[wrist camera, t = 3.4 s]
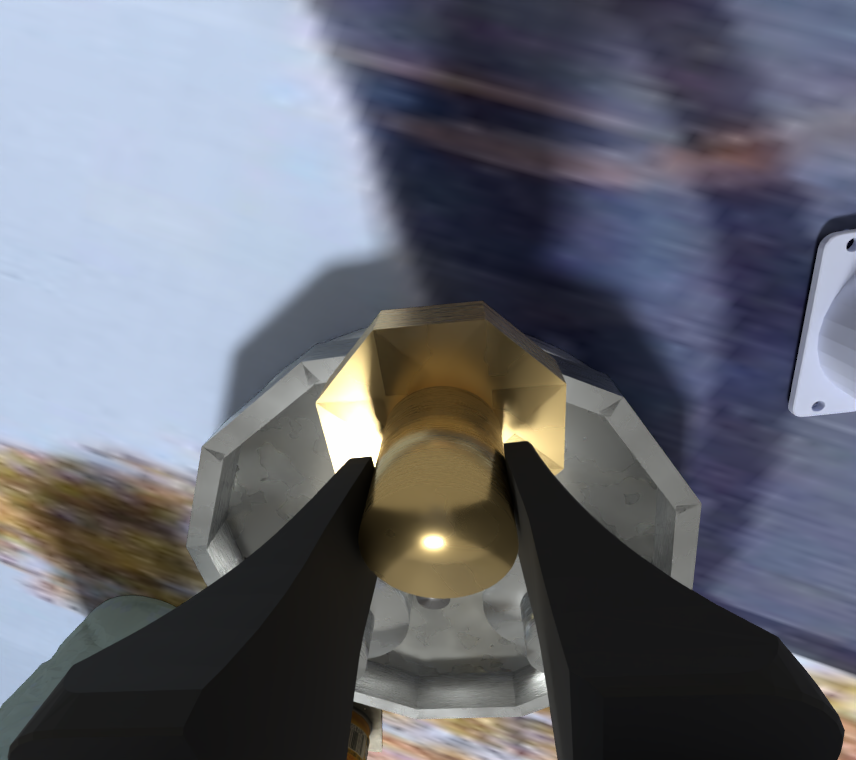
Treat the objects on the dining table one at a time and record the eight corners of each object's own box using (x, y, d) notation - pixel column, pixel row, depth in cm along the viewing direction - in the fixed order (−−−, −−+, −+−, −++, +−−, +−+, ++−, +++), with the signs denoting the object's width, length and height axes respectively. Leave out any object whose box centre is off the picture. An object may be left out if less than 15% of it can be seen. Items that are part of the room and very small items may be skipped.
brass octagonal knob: (556, 293, 12) (623, 391, 7) (553, 486, 15) (597, 643, 11) (313, 317, 13) (227, 420, 8) (358, 496, 16) (317, 647, 11)
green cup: (239, 678, 32) (128, 932, 22) (116, 681, 34) (-46, 922, 23) (187, 581, 28) (17, 836, 17) (49, 589, 30) (-188, 830, 19)
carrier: (677, 279, 18) (758, 320, 13) (654, 651, 28) (696, 755, 23) (154, 357, 21) (61, 414, 16) (299, 666, 31) (268, 760, 26)
